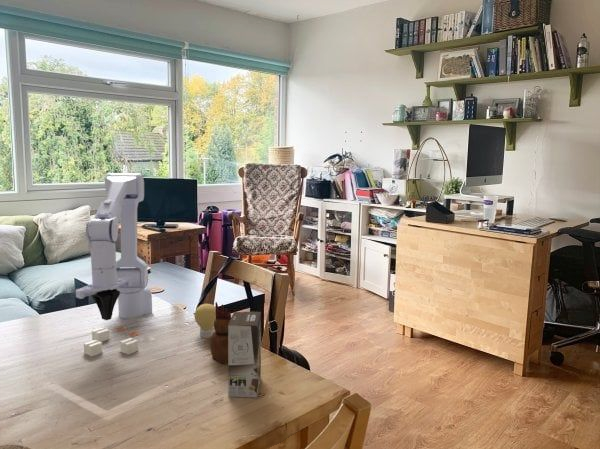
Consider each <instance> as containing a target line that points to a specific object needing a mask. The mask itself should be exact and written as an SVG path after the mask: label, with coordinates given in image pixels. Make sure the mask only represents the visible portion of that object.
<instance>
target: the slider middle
mask: <svg viewBox="0 0 600 449" xmlns="http://www.w3.org/2000/svg"><path fill="white" fill-rule="evenodd" d="M83 349H84V353H83V354H85V355H87V356H89V357H95V356H97V355H99V354H103V342H99V341H97V340H90V341H87V342H83Z"/></svg>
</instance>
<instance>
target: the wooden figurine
mask: <svg viewBox="0 0 600 449" xmlns="http://www.w3.org/2000/svg"><path fill="white" fill-rule="evenodd" d="M214 304H215V305H214V306H215V307H216V319H215V321H214V326H213V328H214V332H213V334H212V335H211V337H210V338H209V339H210V340H209V348H210V353H211V356H212V358H213V360H214V361H215V362H216V363H219V364H228V324H229V322H230V320H231V318H232V313H231V311H229V312H228V309H227V308H225V310H224V304H221V307H220V309H219V305H218V301H215V303H214Z"/></svg>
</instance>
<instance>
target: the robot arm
mask: <svg viewBox="0 0 600 449" xmlns="http://www.w3.org/2000/svg"><path fill="white" fill-rule="evenodd" d="M104 189H105V192H106V193H107V197H106V199H105V200H102V201H101V202H100V204H99V206H98V208H97V211H96V213H95V215H94V217H93V218H91V219H90V220H88V221H87V223H86V225H85V236H86V237H85V238H86V241H87V244H88V245H87V246H88V249H89V250H90V262H91V266H90V267H91V282H92V283H89V284H88V285H86V286H83V287H81V288H77V289H75V298H77V299H80V300H81V299H85V297H89V296H90V297H92V299H93V301H94V303H95V304H96V305H97V307H98V311H99V313H100V316H101V319H102V320H104V321H109V320H112V317H113V311H114V308H115V305H116V302H117V304H118V305H117V306H118V317H119V318H122V319H137V318H140V317H142V316H144V315H148V316H155V314H154V313H153V295H152V291H151V289H150V288H149V287H148V285H149V284H148V283H149V272H148V264H147V263H146V261H145V260H143V259H141V258H140V257H139V256H138V206H139V203H141V202H143V201H144V199H145V180H144V176H143V174H142V173H141V172H138V173H136V172H135V173H133V172H132V173H131V172H130V173H126V172H125V173H121V172H115V173H114V172H107V174H106V175H105V177H104ZM119 221H120V257H119V259H117V253H116V252H117V251H116V242H117V240H118V236H119Z"/></svg>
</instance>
